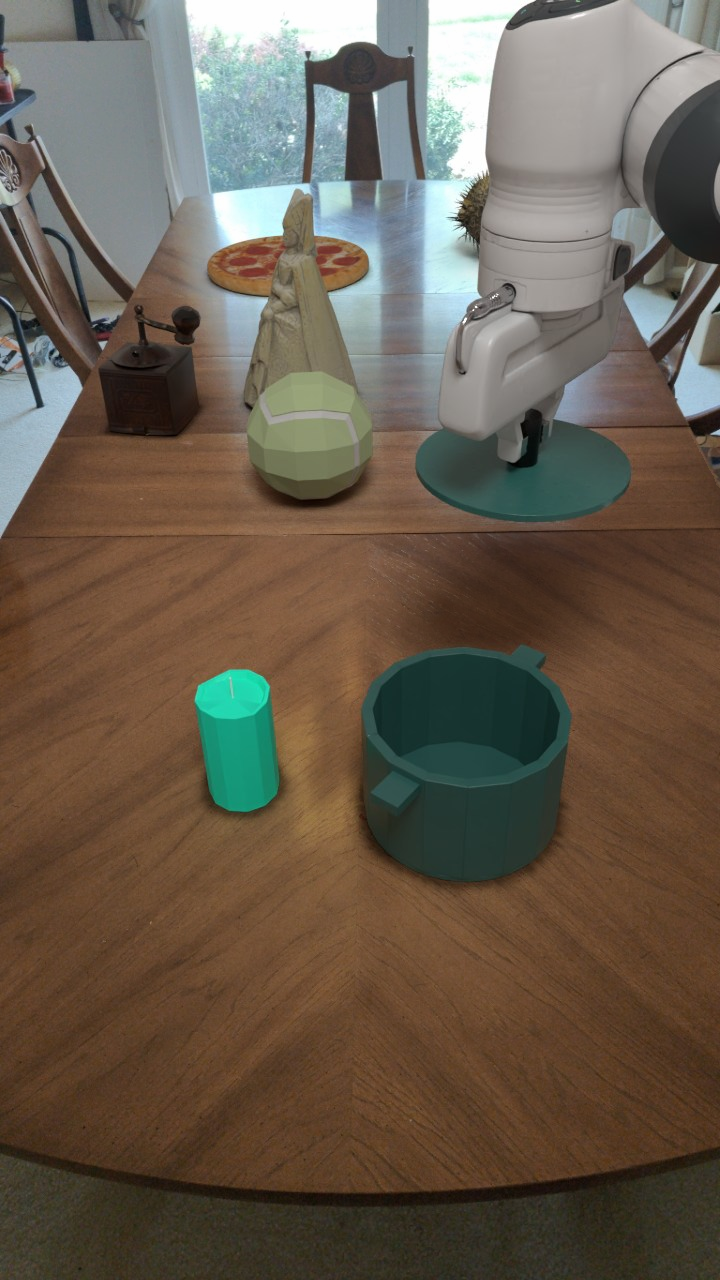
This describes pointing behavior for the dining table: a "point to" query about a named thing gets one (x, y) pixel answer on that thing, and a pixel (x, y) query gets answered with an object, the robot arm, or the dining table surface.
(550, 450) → the lid
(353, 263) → the pizza
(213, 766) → the candle
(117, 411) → the coffee grinder
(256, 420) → the tennis ball
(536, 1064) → the dining table surface
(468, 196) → the durian
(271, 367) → the sculpture
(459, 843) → the pot
